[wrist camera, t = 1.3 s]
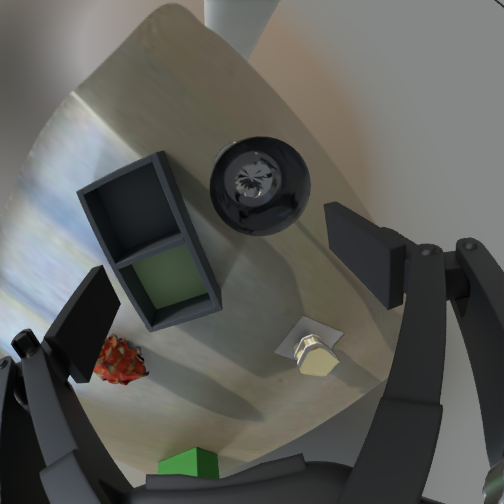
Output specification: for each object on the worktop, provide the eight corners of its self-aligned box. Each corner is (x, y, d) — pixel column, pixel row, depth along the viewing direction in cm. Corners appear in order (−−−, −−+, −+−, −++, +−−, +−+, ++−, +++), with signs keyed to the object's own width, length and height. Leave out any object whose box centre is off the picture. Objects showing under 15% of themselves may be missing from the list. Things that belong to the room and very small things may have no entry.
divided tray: (163, 150, 33) (156, 152, 28) (220, 290, 41) (222, 309, 37) (91, 184, 33) (75, 191, 28) (154, 312, 41) (149, 332, 37)
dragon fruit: (90, 318, 42) (149, 344, 48) (76, 361, 39) (135, 384, 45) (92, 327, 35) (162, 356, 41) (75, 376, 32) (145, 402, 38)
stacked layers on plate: (343, 332, 48) (355, 351, 43) (314, 365, 51) (323, 385, 46) (302, 315, 45) (312, 336, 40) (273, 352, 48) (279, 374, 43)
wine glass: (227, 127, 33) (238, 118, 19) (282, 154, 35) (327, 166, 21) (199, 183, 35) (192, 212, 21) (254, 207, 37) (281, 251, 24)
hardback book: (178, 469, 64) (180, 534, 42) (158, 462, 61) (157, 530, 39) (217, 454, 61) (225, 529, 39) (196, 446, 59) (200, 526, 37)
